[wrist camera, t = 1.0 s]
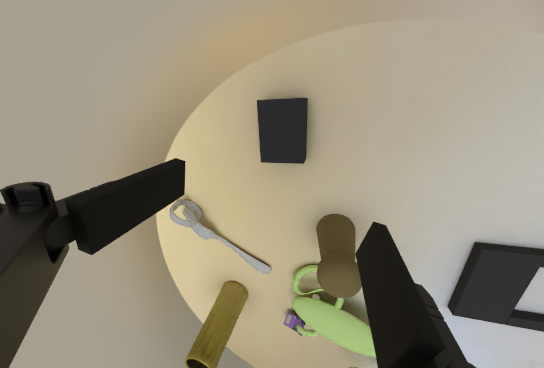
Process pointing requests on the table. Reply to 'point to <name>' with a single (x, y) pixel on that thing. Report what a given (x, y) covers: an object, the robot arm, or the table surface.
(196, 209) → the ring
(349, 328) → the figurine
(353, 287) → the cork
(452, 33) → the table surface
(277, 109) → the charcoal pad
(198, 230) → the fork
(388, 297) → the robot arm
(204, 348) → the vase
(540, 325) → the black pad
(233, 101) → the table surface
